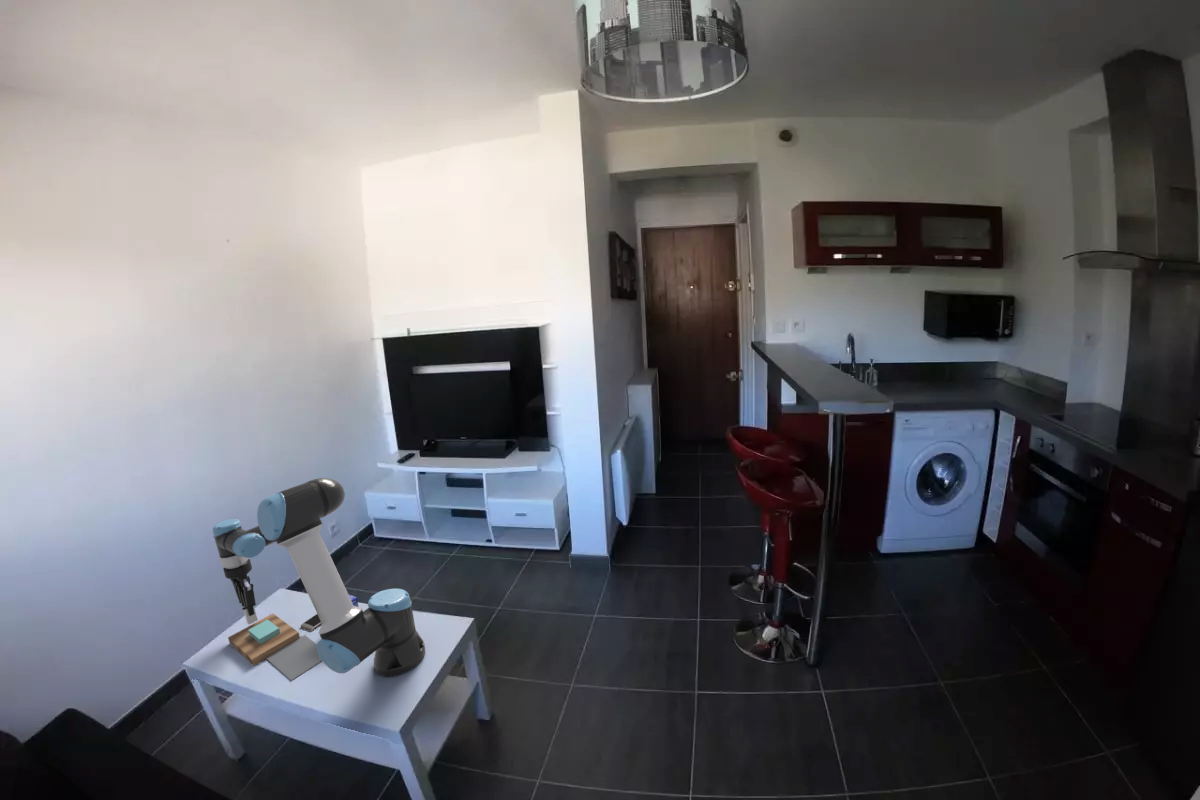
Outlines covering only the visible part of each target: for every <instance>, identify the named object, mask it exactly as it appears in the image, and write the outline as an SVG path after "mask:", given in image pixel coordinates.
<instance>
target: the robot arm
mask: <svg viewBox="0 0 1200 800" xmlns="http://www.w3.org/2000/svg"><path fill="white" fill-rule="evenodd" d="M345 495H346V493H345V490H344V487H343V486H342V484H341V483H340V482H339V481H337V480H335V479H333V478H328V477H319V478H314V479H312V480H308V481H307V482H304V483H301V484H298V485H295V486H293V487H290V488H288V489H285V490H281V491H279V492H276V493H273V494H272V495H270V496H268V497H266V498H264V499H262V500H261V502H260V503H259V504H258V506H257V511H256V513H257V514H256V517H257V519H256V520H257V524H258V525H257V526H255V527H252V528H250V529H247V530H245V529H243V528H242V524H241V521H240V520H239V519H236V518H230V519H225V520H223V521H220V522H218V523H217V524H214V526H213V527H212V532H213V538H214V541H215V545H216V547H217V552H218V555H219V559H220V563H221V567H222V568H223V574H224V576H225V578H226V579H229V580H230V581H231V583H232V585H233V588H234V592H235V594H236V597H237V600H238V603H239V604H241V607H242V611H243V613H244V617H245V620H246V624H247V625H249V626H250V625H252V624H254V623H256V622H258V621H259V620H258V616H257V612H256V609H255V606H256V598H255V591H254V584H253V583H251V578H250V576H249V575H248V574H249V573H250V572H251V571H252V569H253V566H252V563H251V559H250V558H254V557H257V556H259V555H260V554H261V553H262V552H263V551H264V550H265V548H266V547H268V546H270V545H272V544H274V543H276V544H277V546H279V547H284V548H286V549H287V551H288V554H289V556H290V558H291V561H292V562H293V564H294V566H295V569H296V571H297V573H298V576H299V577H300V580H301V582H302V584H303V586H304V588H305V591H306V593H307V595H308V598H309V600H310V601H311V603H312V605H313V608H314V610H315V611H316V614H318V616H319V619H320V621H321V623H322V624H321V625H320V627H319V628H320V629H319V630H318V634H319V636H320V638H321V639H320V640H318V642H317V643H316V644H317V645H316V648H317V653H318V655H319V657H320V658H321V660H322V661H321V662H322V663H323V664H324V665H325V666H326V667H327V668H328V669H330V670H331V671H332V672H334V673H336V674H346V673H348V672H350V671H351V670H353V669H354V668H355V667H358V666H359V665H360V664H361V663H362V662H364V660H366V659H367V658H369V657H370V656H371V655H372V654H373V653H374V658H373V665H374V670H375V672H376V673H377V674H378V675H380V676H382V677H390V678H391V677H397V676H400V675H403V674H405V673H407V672H410V671H411V670H413V669H414V668H415V667H417V666H418V665H419V664H420V662H422V660H423V659H424V657H425V655H426V646H425V642H424V640H423V638H422V636H421V635H420V634H419V632H418V631H417V629H416V623H415V618H414V611H413V607H412V605H413V603H412V602H413V601H412V600H411V596H410V594H409V593H408V591H406V590H405V589H403V588H388V589H384V590H381V591H378V592H376V593H375V594H373V595H371V596H370V598H369V600H368V603H367V606H368V608H366V609H365V610H363V609H362V607H360V606H358V607H356V606H353V603H352V601H351V599H350V597H349V595H350V594H349V592H347V591H348V590H347V588H346V587H345V583H344V582H343V580H342V578H341V575H340V574H339V572H338V569H337V567H336V565H335V563H334V561H333V558H332V556H331V554H330V552H329V549H328V547H327V545H326V543H325V541H324V539H323V537H322V535H321V530H322V528H323V522H322V520H321V519H322V518H324V517H326V516H329V515H330V514H332V513H334V512H335V511H336V510H338V509H339V508H340V507H341V506H342V504H343V503H344V500H345ZM348 594H349V595H348Z"/></svg>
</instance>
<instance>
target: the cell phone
mask: <svg viewBox="0 0 1200 800" xmlns="http://www.w3.org/2000/svg"><path fill="white" fill-rule="evenodd" d="M321 626H322V623H321V621H320V619H319V616H318V614H317V613H316V614H315V615H313V616H312V617H310V618H309V619H307V620H306V621H304V622H302V623H301V624H300V629H301V630H303V631H306V632H309V633H310V632H312V631H314V630H316V629H317V628H318V627H321Z"/></svg>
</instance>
